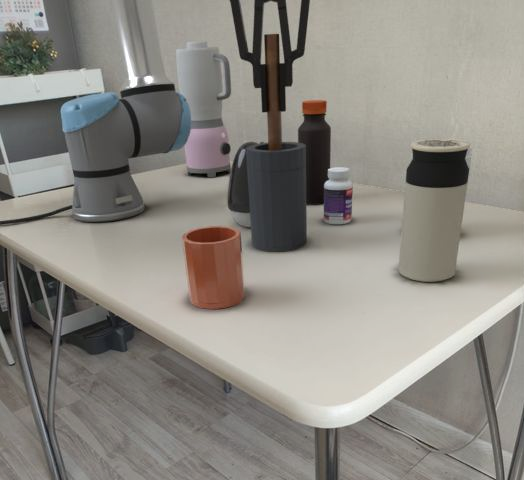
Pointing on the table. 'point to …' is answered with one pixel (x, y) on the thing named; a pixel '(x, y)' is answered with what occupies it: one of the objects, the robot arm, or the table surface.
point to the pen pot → (214, 266)
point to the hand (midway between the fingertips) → (274, 110)
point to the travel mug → (433, 209)
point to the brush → (273, 91)
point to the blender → (205, 106)
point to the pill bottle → (338, 196)
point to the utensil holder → (277, 196)
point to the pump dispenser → (239, 187)
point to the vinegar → (315, 148)
